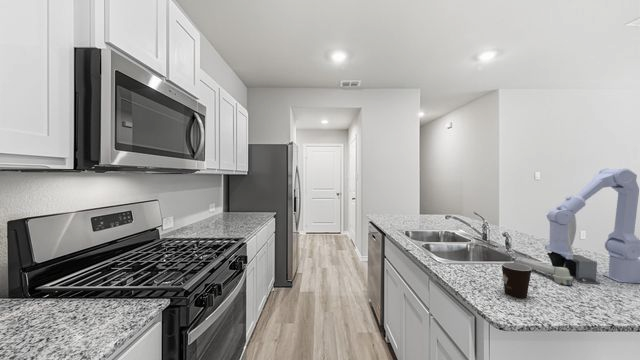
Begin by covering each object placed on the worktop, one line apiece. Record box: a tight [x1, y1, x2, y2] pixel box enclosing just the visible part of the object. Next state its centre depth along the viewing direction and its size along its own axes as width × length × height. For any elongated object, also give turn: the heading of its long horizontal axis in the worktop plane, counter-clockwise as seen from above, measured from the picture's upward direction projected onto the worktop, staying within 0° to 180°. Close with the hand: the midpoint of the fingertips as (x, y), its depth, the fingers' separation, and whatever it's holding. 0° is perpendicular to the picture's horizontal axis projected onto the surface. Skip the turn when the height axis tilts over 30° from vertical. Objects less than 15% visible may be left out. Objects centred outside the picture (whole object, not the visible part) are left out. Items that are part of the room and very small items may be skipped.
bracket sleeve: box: [563, 254, 601, 285], centre depth 117 cm, size 6×14×8 cm, turn 170°
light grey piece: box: [513, 256, 574, 286], centre depth 120 cm, size 5×7×25 cm
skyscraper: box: [567, 214, 577, 255], centre depth 137 cm, size 8×8×28 cm
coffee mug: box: [501, 261, 533, 300], centre depth 101 cm, size 12×9×10 cm
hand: (557, 271), depth 118 cm, fingers closed
